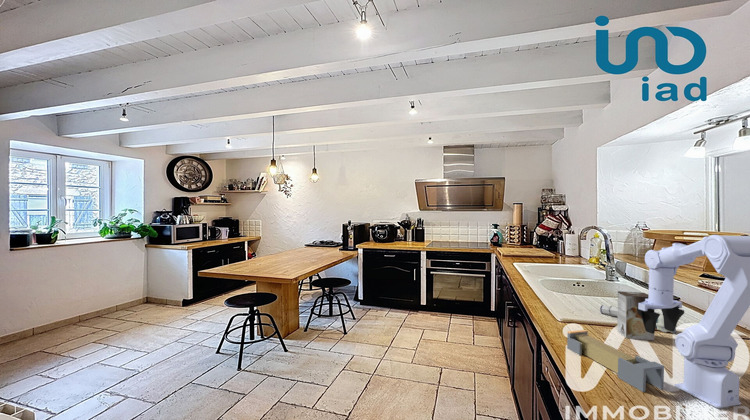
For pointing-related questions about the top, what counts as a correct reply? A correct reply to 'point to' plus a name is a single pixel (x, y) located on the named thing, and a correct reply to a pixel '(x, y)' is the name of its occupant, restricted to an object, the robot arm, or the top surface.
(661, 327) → the pale grey bumpy piece
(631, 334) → the coffee box
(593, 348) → the tan rectangular post
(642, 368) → the sleeve
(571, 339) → the socket
